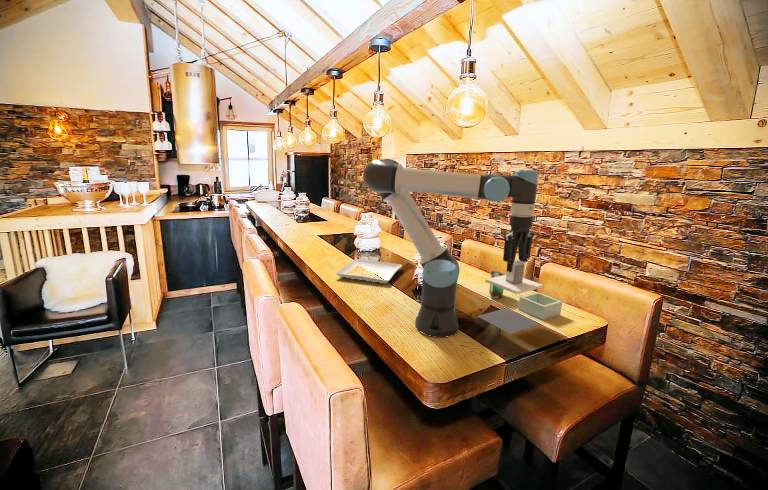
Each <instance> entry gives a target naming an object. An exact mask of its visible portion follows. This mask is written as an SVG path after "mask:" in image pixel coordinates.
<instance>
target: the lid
mask: <svg viewBox="0 0 768 490" xmlns="http://www.w3.org/2000/svg"><path fill="white" fill-rule="evenodd" d="M514 263H515V264H516V265H515V273H514V281H510V280H507V279H506V276H507V273H506V274H505V275H503V276H498V277H494V278H491V277H490V278H485V283H487V284H489V285H490V284H492V285H495V286H497V287H500V288H502V289H504V290H505V291H507V292H510V293H513V294H515V295H518V294H524V293H527V292H531V291H535V290H538V289H542V288H543V287H544V285H543V284H541V283H538V282H536V281H533V280H530V279H528V278H525V277H524V271H525V264H522V263H519V262H517V261H514Z"/></svg>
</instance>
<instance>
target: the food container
mask: <svg viewBox="0 0 768 490" xmlns="http://www.w3.org/2000/svg"><path fill="white" fill-rule="evenodd" d="M503 275H506V274H505V273H504V272H500V271H496V270H491V271H490V278H494V277H498V276H503ZM504 290H505V289H502V288H500V287H497V286H495V285H492V284H490V283H489V294H490V299H491V300H499V299H500V300H501V299H502V298H503V294H504Z"/></svg>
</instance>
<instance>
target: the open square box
mask: <svg viewBox="0 0 768 490" xmlns="http://www.w3.org/2000/svg"><path fill="white" fill-rule="evenodd" d="M562 307H563V301H562V300H560V299H556V298H554V297H551V296H549V295H546V294H543V293H541V292H539V291H537V292H533V293H529V294H525V295H522V296H520V297H519V303H518V311H520V312H522V313H525V314H527V315H530V316H532V318H536V319H538V320H540V321H545V320H549V319H551V318H556V317H557V316H561V311H562Z"/></svg>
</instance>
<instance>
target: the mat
mask: <svg viewBox="0 0 768 490" xmlns="http://www.w3.org/2000/svg"><path fill="white" fill-rule="evenodd" d="M476 317H477V318H479V319H481V320H483V321H485V322H487V323H489V324H491V325H493V326H494V327H496V328H498V329H500V330H502V331H504V332H505V333H508V334H510V335H514V334H516V333H519V332H522V331H525V330H528V329H531V328H535V327H536V326H539V325H541V323H538V322H537V321H534V320H532V319H530V318H528V317H526V316H524V315H522V314H520V313H518V312H517V313H516V312H515V311H512V310H510V309H508V308H506V307H505V308H502V309H501V308H500V309H499V310H495V311H490V312H487V313H484V314H481V315H477V316H476Z"/></svg>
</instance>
